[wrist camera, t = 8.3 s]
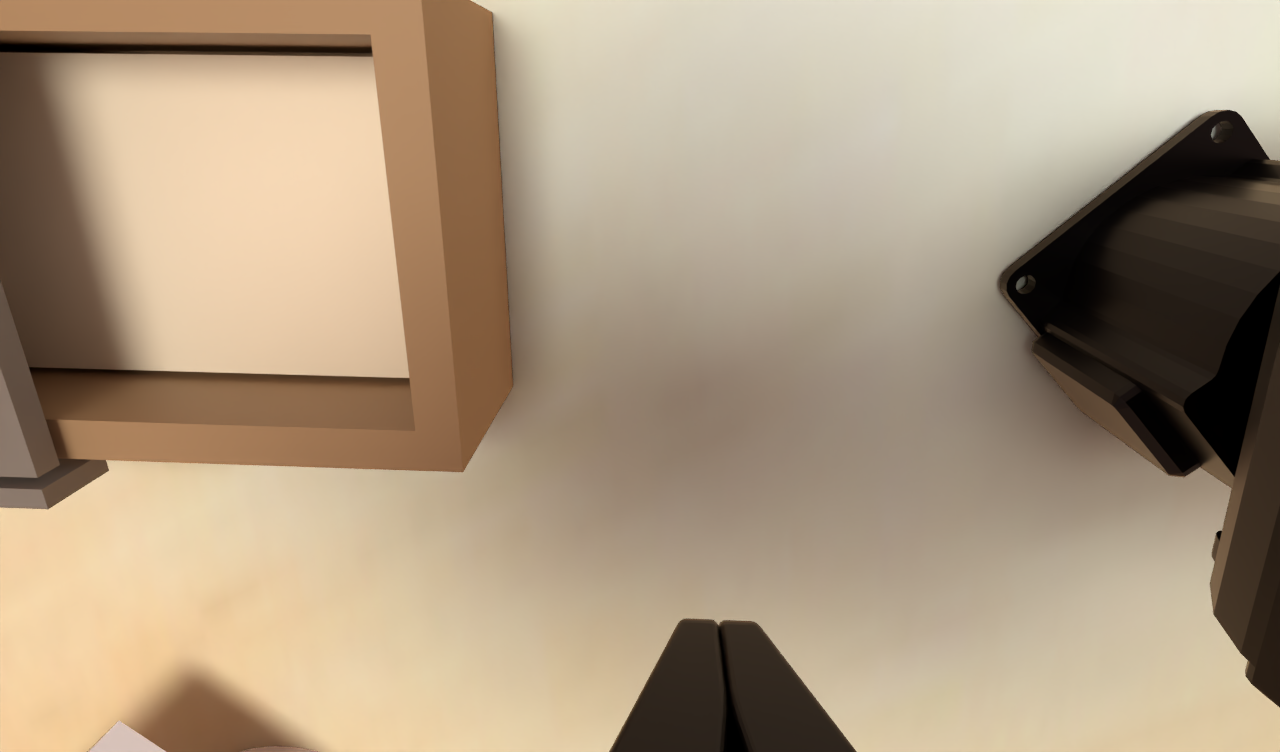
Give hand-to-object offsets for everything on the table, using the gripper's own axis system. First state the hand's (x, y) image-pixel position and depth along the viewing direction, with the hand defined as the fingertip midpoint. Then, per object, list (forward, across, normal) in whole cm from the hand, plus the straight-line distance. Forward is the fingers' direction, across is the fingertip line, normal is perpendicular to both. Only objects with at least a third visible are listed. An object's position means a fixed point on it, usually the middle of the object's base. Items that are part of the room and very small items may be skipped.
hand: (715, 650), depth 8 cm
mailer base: (+13, +13, -3) cm, 18 cm away
